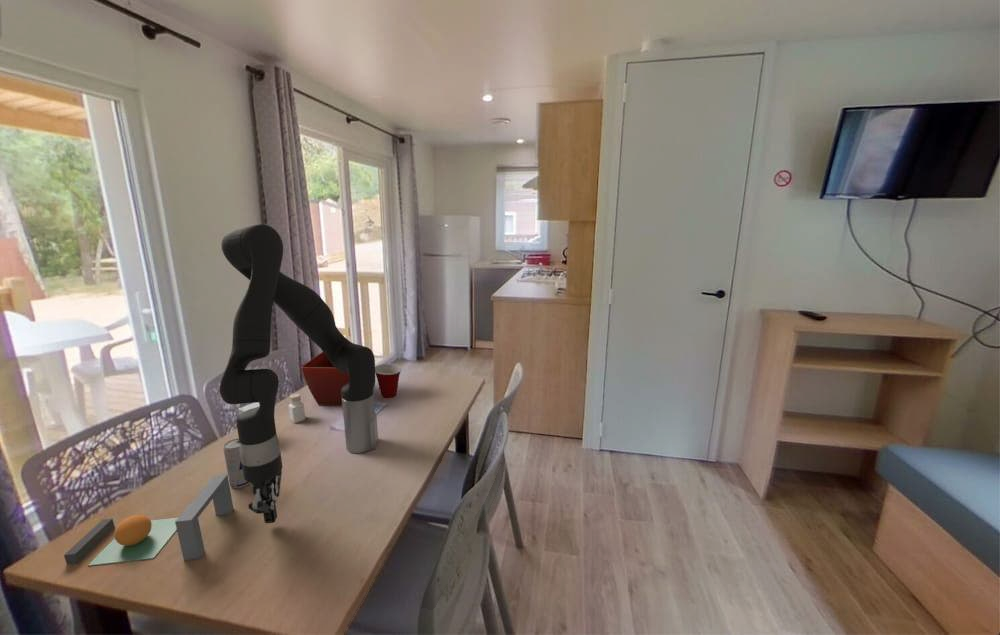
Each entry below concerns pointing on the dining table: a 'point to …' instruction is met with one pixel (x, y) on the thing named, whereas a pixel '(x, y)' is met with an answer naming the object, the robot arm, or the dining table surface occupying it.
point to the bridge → (189, 518)
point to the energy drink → (234, 464)
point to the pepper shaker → (296, 409)
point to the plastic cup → (388, 379)
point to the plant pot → (324, 380)
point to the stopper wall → (89, 542)
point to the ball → (133, 530)
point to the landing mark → (139, 545)
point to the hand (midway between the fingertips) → (271, 520)
